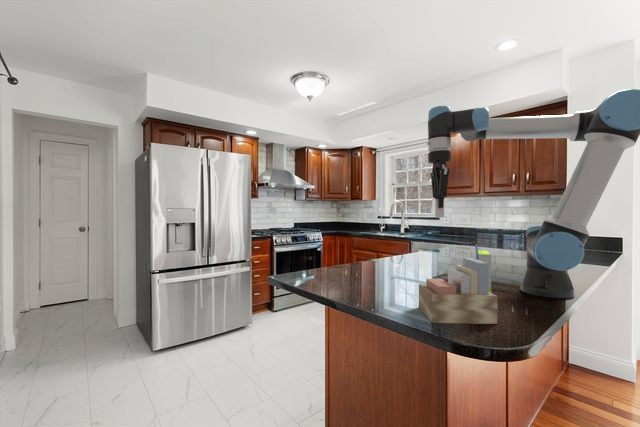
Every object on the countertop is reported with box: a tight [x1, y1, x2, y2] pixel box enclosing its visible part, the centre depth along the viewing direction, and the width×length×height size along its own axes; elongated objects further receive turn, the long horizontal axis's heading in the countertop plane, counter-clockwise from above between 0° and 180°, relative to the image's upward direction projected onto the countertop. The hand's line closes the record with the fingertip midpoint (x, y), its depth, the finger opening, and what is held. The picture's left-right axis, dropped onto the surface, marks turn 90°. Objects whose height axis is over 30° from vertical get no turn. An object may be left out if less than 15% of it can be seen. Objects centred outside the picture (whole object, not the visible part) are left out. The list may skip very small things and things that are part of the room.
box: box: [475, 244, 492, 293], centre depth 102 cm, size 10×4×17 cm, turn 157°
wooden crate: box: [418, 283, 498, 325], centre depth 86 cm, size 16×13×7 cm
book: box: [425, 278, 456, 294], centre depth 86 cm, size 4×10×9 cm, turn 179°
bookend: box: [447, 268, 470, 295], centre depth 85 cm, size 2×9×12 cm, turn 178°
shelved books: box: [455, 257, 489, 295], centre depth 85 cm, size 4×10×15 cm, turn 178°
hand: (439, 217), depth 113 cm, fingers closed
